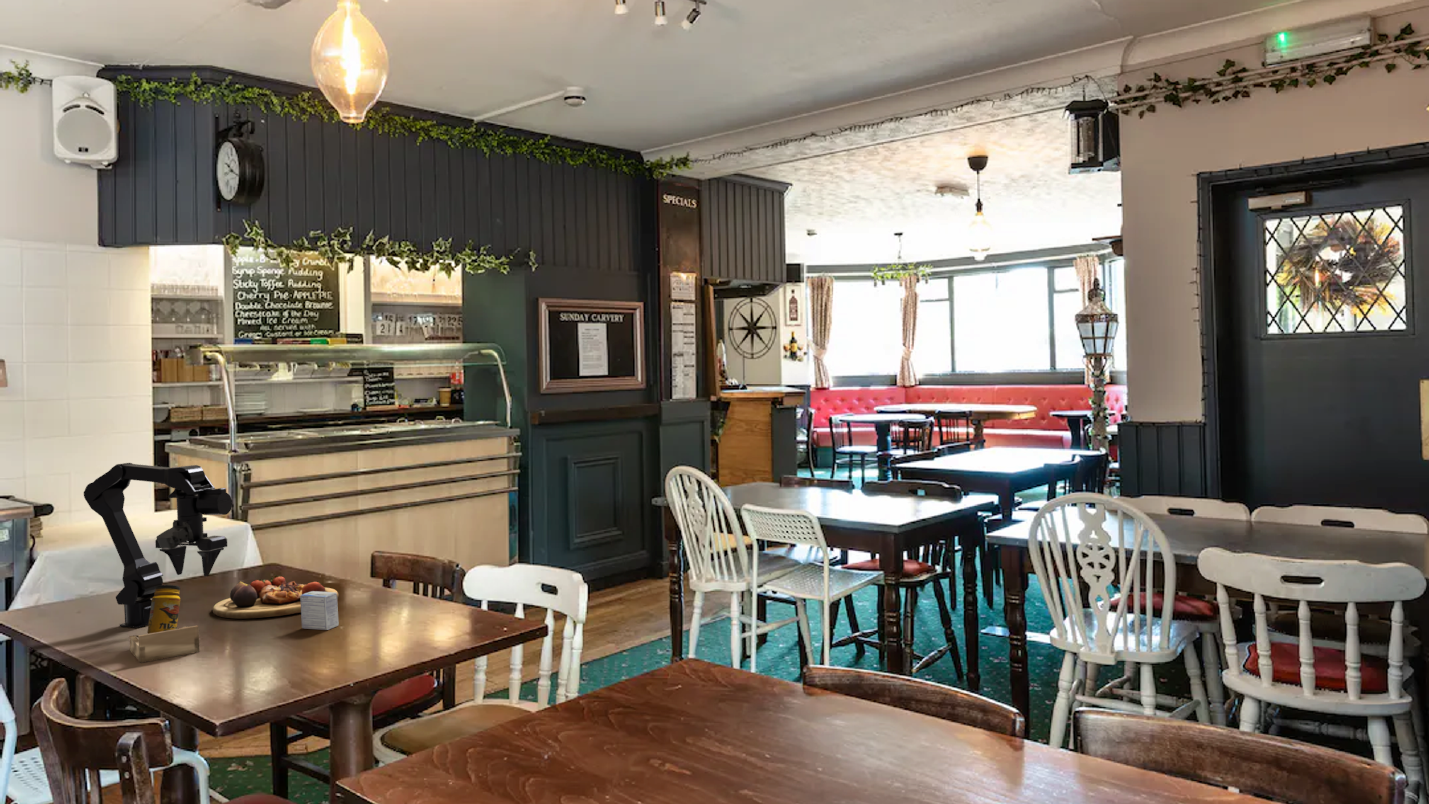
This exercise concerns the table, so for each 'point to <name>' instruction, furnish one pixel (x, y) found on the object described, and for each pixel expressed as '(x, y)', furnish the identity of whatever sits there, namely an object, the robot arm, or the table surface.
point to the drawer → (165, 644)
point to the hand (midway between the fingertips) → (192, 575)
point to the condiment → (164, 609)
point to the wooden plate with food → (265, 598)
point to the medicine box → (319, 610)
